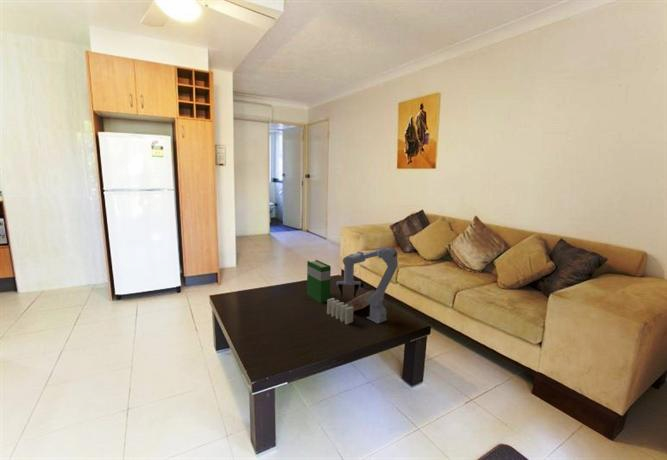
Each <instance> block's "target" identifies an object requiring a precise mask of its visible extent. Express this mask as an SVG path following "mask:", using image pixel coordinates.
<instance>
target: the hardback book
mask: <svg viewBox="0 0 667 460" xmlns="http://www.w3.org/2000/svg"><path fill="white" fill-rule="evenodd" d="M306 263H307V265H306V268H307V270H306V272H307V273H306V275H307V276H306V281H307V282H306V295H308V297H310V298H312V299H314V300H315V301H317V302H318V303H319V304H320V303H321V304H322V303H327V300H328V299H331V269H332V268H331V265H329V264H327V263H325V262H322V261H320V260H318V259H315V261H310V260H307V262H306Z"/></svg>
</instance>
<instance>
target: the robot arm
mask: <svg viewBox="0 0 667 460" xmlns="http://www.w3.org/2000/svg"><path fill="white" fill-rule="evenodd" d="M375 257H377V258H379V259H381V260H383V262H384V263H385V264H386V266H387V268H386V269H385V271H384V274H383V275H382V278H381V279H380V281H379V283H378V285H377V287H376V289H375V290H374V293H373V295H372V296H371V297H370V298H369V303H370V304H369V315H368V316H366V319H368V320H370V321H372V322H374V323H376V324H381V323H383V322H385V321H387V308H386V307H384V304H383V301H384V299H385V293H386V290H387V288H388V286H389V284H390V282H391V280H392V278H393V276H394V274H395V272H396V271H397V268H398V267H399V262H398V252H397V249H396V248H395V247H393V246H388V247H385V246H384V247H381V248H378V249H374V250H371V251H368V252H365V253H364V252H363V251H359V250H358V251H356V253H351V254H348V255H347V256H345V257H343V259H342V263H343V266H344V267H343V269H344V271H343V280H339V281H338V280H337V281H336V286H337V287H338V288H339V291H340V295H341V298H343V295H344V294H343V290H344V289H343V288H344V287H343V286H353V297H354V298H356V294H357V292H358V289H359V288H360V286H361V284H362V283H361V281H357V280H354V275H355V274H354V271H355V265H356V264H360V263H363V262H365V261H366V260H367V259H371V258H375Z"/></svg>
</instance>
